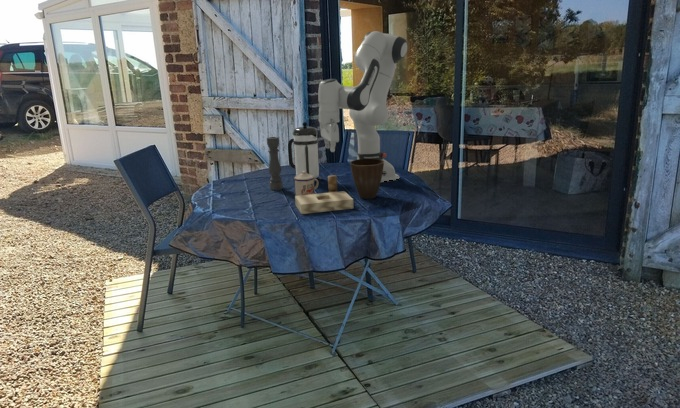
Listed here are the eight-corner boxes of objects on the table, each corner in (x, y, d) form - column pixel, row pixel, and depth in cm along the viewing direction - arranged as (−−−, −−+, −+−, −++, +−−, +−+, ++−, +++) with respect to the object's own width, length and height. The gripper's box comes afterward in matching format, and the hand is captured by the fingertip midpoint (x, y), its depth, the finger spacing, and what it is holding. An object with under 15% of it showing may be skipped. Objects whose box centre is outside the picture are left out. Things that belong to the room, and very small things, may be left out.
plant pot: (362, 203, 210) (361, 166, 205) (345, 195, 222) (343, 161, 218) (390, 197, 216) (390, 162, 212) (372, 190, 229) (372, 157, 224)
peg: (336, 196, 222) (335, 174, 219) (338, 198, 218) (337, 176, 215) (327, 197, 221) (326, 175, 218) (329, 199, 217) (328, 177, 214)
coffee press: (322, 175, 263) (319, 119, 255) (321, 182, 248) (319, 123, 240) (289, 176, 263) (286, 120, 255) (287, 183, 248) (283, 124, 239)
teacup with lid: (301, 200, 218) (300, 174, 214) (291, 196, 225) (290, 171, 222) (324, 195, 224) (323, 170, 221) (313, 191, 232) (312, 167, 228)
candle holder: (280, 190, 236) (276, 138, 229) (268, 189, 237) (264, 138, 230) (284, 186, 242) (280, 136, 235) (272, 186, 243) (268, 136, 236)
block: (344, 199, 216) (344, 191, 215) (353, 208, 203) (353, 199, 202) (295, 204, 211) (294, 195, 210) (301, 214, 198) (300, 204, 196)
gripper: (342, 120, 201) (343, 153, 205) (330, 115, 220) (331, 146, 224) (327, 120, 199) (328, 154, 203) (317, 116, 218) (318, 146, 222)
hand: (330, 149), depth 214 cm, fingers open, 8 cm apart
